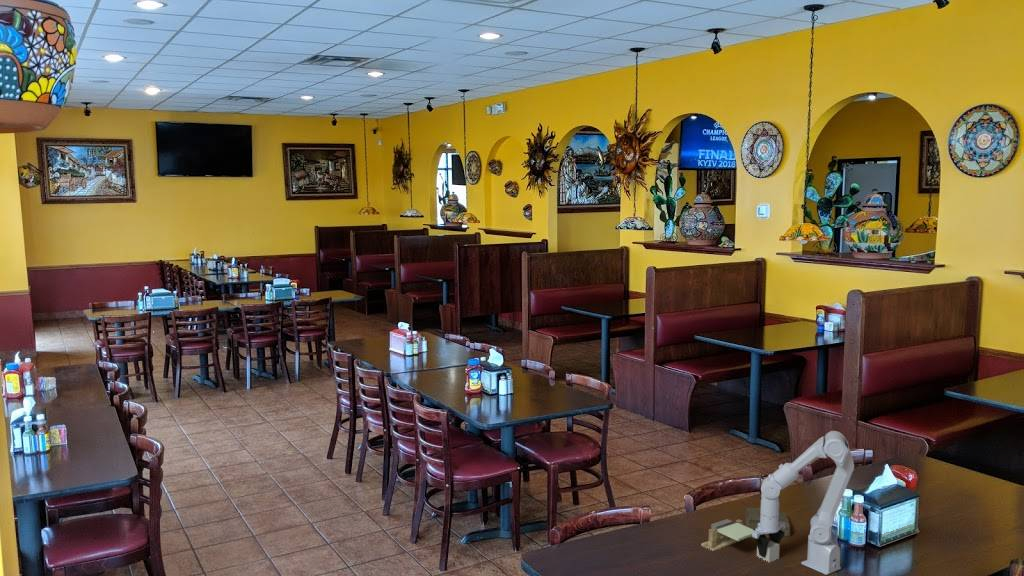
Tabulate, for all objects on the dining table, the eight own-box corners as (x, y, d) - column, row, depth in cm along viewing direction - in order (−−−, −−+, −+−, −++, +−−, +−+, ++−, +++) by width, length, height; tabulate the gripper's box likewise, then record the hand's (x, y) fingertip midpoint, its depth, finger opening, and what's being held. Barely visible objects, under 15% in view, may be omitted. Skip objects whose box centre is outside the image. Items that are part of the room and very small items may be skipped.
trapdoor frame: (742, 540, 276) (743, 521, 275) (712, 551, 267) (713, 531, 266) (731, 535, 280) (731, 516, 279) (701, 545, 271) (701, 526, 271)
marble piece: (790, 537, 279) (791, 526, 278) (746, 533, 282) (747, 522, 281) (785, 518, 295) (786, 508, 294) (744, 515, 298) (744, 504, 298)
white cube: (778, 558, 262) (779, 544, 261) (769, 562, 259) (769, 548, 259) (766, 553, 266) (767, 538, 265) (756, 556, 263) (757, 542, 263)
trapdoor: (757, 534, 267) (758, 530, 266) (737, 541, 261) (738, 537, 261) (728, 522, 277) (729, 518, 277) (709, 528, 271) (709, 524, 271)
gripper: (773, 505, 268) (772, 543, 270) (745, 515, 260) (743, 554, 262) (791, 512, 262) (789, 551, 264) (762, 522, 254) (761, 562, 256)
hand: (767, 553), depth 262 cm, fingers closed on white cube, 5 cm apart
